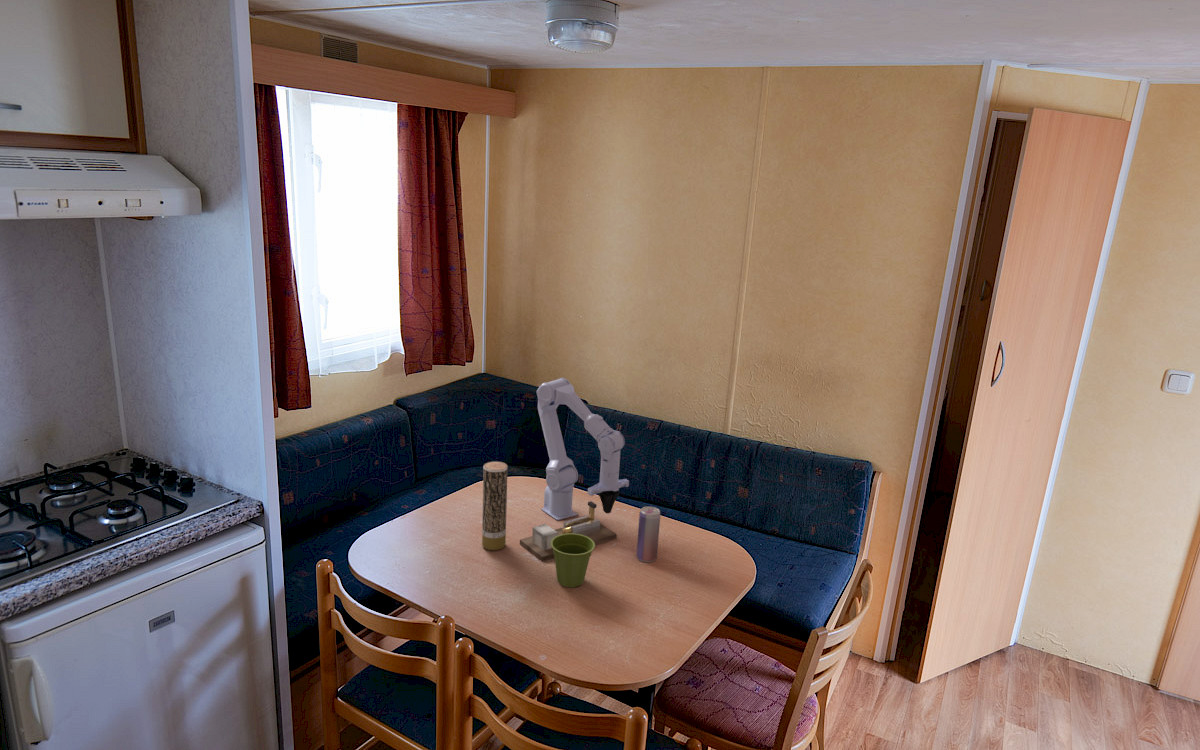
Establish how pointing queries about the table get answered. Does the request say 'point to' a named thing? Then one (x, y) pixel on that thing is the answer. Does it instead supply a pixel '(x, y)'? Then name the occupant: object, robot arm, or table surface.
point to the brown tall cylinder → (494, 505)
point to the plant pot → (571, 557)
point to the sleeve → (583, 526)
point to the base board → (548, 554)
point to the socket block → (543, 536)
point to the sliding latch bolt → (591, 516)
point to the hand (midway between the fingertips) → (607, 512)
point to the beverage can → (648, 534)
